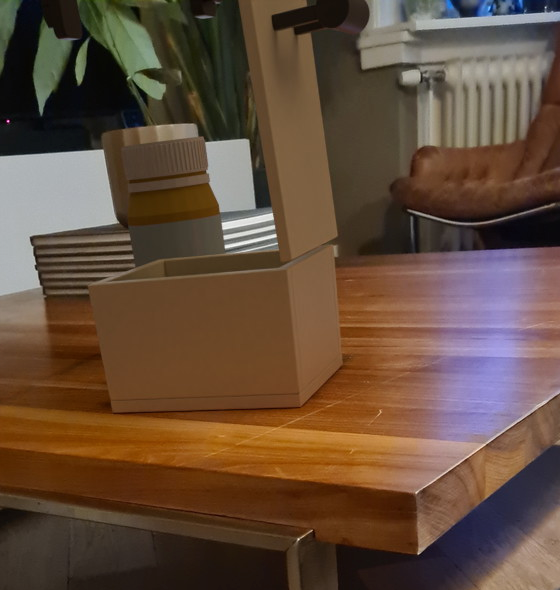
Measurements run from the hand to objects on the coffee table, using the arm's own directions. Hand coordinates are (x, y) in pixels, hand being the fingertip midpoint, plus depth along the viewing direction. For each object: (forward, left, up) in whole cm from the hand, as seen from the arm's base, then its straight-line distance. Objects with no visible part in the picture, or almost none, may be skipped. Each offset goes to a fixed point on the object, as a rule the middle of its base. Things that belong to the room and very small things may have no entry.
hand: (134, 28), depth 52 cm
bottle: (-5, +13, -21) cm, 25 cm away
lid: (+8, 0, -6) cm, 10 cm away
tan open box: (+3, 0, -21) cm, 21 cm away
